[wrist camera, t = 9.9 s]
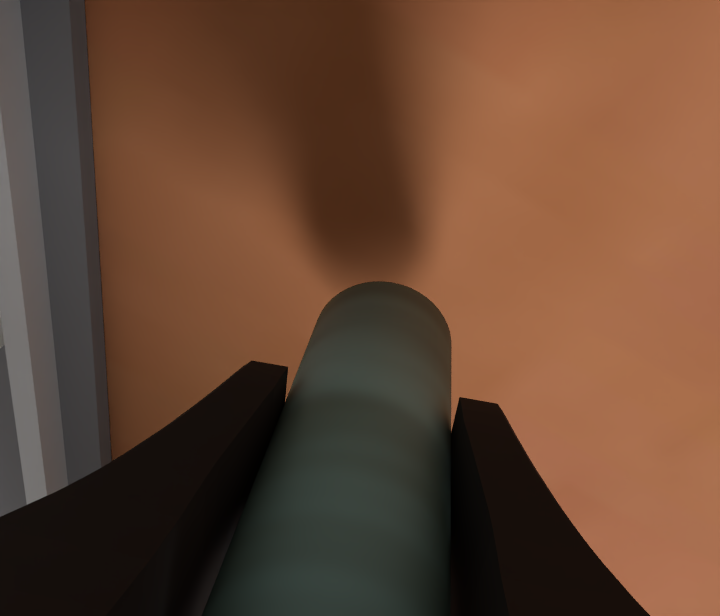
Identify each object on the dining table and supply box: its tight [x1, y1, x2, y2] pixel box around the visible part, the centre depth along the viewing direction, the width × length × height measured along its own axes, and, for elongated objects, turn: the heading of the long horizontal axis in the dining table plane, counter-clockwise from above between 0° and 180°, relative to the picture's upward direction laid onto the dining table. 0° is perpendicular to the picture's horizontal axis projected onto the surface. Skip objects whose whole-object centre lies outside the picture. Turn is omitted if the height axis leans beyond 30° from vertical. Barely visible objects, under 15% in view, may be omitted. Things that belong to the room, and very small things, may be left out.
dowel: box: [202, 282, 451, 616], centre depth 10 cm, size 3×3×8 cm
